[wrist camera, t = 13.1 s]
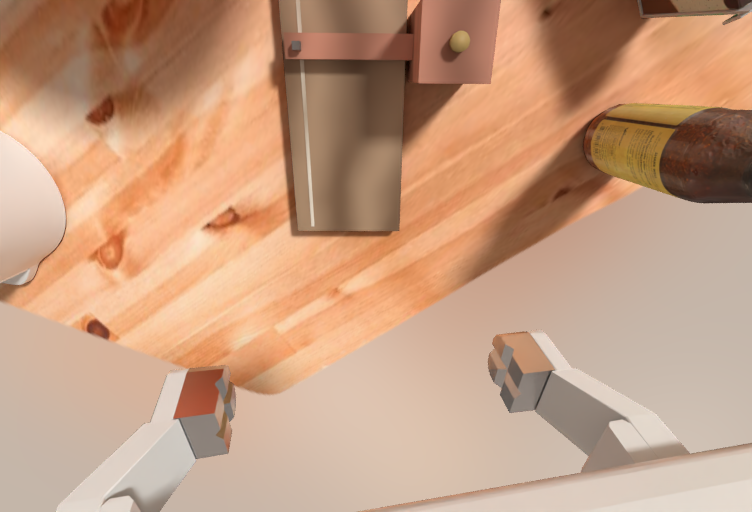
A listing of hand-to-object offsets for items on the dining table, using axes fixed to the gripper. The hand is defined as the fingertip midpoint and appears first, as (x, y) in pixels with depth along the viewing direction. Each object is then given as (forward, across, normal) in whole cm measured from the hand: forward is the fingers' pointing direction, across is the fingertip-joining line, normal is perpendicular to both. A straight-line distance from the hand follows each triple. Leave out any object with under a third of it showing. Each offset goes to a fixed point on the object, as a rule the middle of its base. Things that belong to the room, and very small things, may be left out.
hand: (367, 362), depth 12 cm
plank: (+28, +2, +1) cm, 28 cm away
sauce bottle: (+24, +27, -1) cm, 36 cm away
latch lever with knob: (+28, +5, +6) cm, 29 cm away
